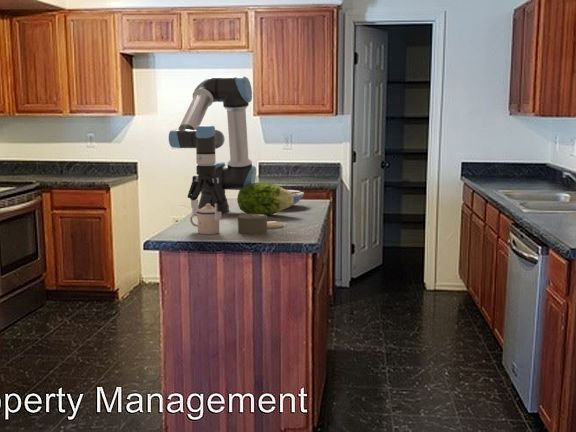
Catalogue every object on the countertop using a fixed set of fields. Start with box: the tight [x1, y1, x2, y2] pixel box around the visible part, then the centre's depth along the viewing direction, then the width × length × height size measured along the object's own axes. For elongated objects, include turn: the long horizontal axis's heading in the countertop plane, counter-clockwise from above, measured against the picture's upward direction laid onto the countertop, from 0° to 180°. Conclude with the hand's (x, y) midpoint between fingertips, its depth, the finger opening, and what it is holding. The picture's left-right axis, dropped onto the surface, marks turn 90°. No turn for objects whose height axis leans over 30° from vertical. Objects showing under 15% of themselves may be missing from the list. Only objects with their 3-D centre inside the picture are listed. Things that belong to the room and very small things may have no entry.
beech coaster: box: [267, 220, 284, 229], centre depth 264 cm, size 10×10×1 cm
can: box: [237, 213, 268, 236], centre depth 250 cm, size 12×12×7 cm
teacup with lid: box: [189, 204, 220, 235], centre depth 249 cm, size 12×9×12 cm
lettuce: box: [237, 182, 294, 216], centre depth 289 cm, size 15×27×16 cm, turn 78°
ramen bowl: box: [287, 189, 307, 206], centre depth 315 cm, size 25×23×8 cm
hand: (206, 217), depth 249 cm, fingers open, 13 cm apart
